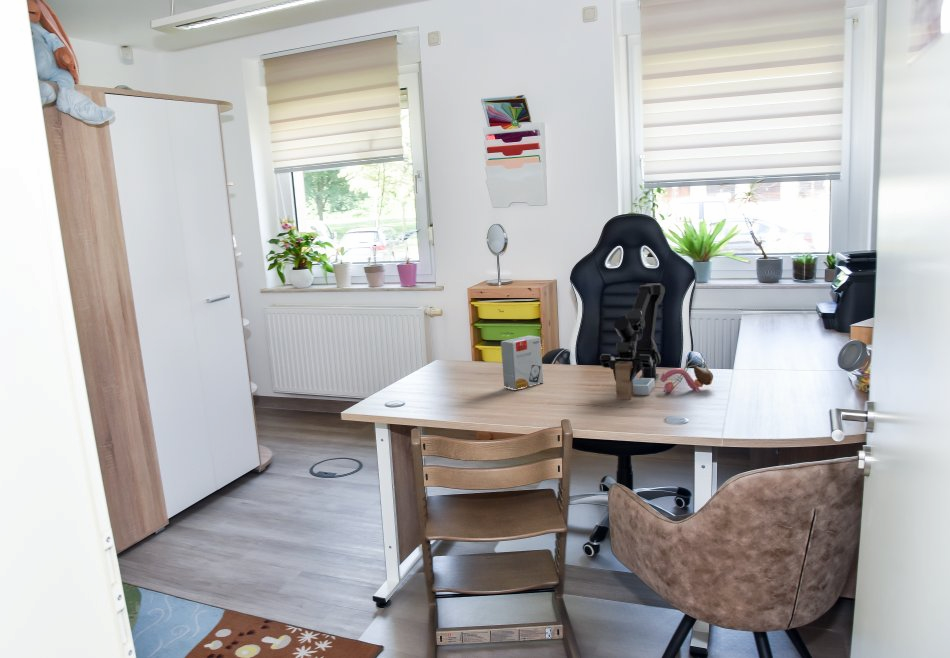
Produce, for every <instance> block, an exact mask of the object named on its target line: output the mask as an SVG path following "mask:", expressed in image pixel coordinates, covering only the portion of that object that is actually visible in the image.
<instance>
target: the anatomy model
mask: <svg viewBox="0 0 950 658" xmlns="http://www.w3.org/2000/svg"><path fill="white" fill-rule="evenodd" d="M696 358H697V359H698V360H700V361H699V363H697V364H693V365H689V364H690V363H691V362H692V361H693V360H695V359H696ZM688 365H689V366H688ZM700 365H703V366H704V368H703V367H700ZM692 367H693V372H694V373H693V374H694V376H695V378H696V379H694V380H693V377H692V376H691V375H690V374H689V372H688V370H689V368H692ZM705 368H706V369H705ZM677 374H679V375H677ZM674 375H676V376H675V377H673V378H675V381H674V382H673V381H668V382H667V380H668V379H669V378H671V377H672V376H674ZM676 377H677V378H676ZM683 379H684V380H685V382H686V384H687V386H688V387H689V388H690V389H692V390H696V392H698V393H702V391H701V389H700V388H702V387H703V386H710V385H711V384H712V382H713V380H714V374H713V372H712V371H710V370H709V368H708V367H707V365H706V363H705V362H704V361H703V360H702V359H701V357H699V356H697V355H696V356H694V357H693V358H692V359H690V360H689V361H688V362H687V364H686V365H685V366H684V368H679V367H678V368H677V367H676V368H671V369H669V370H668V371H666V372H662V375H661V376H660V381H661V382H662V383H664V382H666V383H664V391H665V393H667V394H670V393H671V392H672V391H673V390H675V388H676V387H677V386H678V385H679V383H681V381H682V380H683ZM676 382H677V383H676ZM675 383H676V384H675Z"/></svg>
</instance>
